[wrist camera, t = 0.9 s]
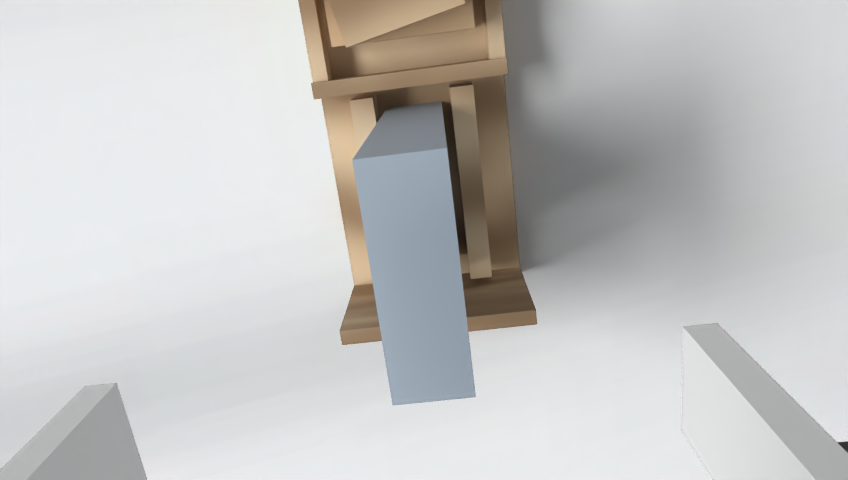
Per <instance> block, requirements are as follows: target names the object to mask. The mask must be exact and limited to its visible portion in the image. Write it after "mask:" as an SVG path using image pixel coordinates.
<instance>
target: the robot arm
mask: <svg viewBox="0 0 848 480" xmlns="http://www.w3.org/2000/svg"><path fill="white" fill-rule="evenodd" d="M681 431H682V433H683V434H684V436H685V437H686V439H687V441H688V442H689V444H690V445H691V447H692V448H693V450H694V452H695V453H696V455H697V456H698V458H699V459H700V461H701V463H702V464H703V466H704V467H705V469H706V471H707V472H708V474H709V475H710V477H711V478H712V480H848V442H836V441H835V440H834V439H833V438H832V437H831V436H830V435H829V434H828V433H827V432H826V431H825V430H824V429H823V428H822V427H821V426H820V425H819V424H818V423H817V422H816V421H815V420H814V419H813V418H812V417H811V416H810V415H809V414H808V413H807V412H806V411H805V410H804V409H803V408H802V407H801V406H800V405H799V404H798V403H797V402H796V401H795V400H794V399H793V398H792V397H791V396H790V395H789V394H788V393H787V392H786V391H785V390H784V389H783V388H782V387H781V386H780V385H779V384H778V383H777V382H776V381H775V380H774V379H773V378H772V377H771V376H770V375H769V374H768V373H767V372H766V371H765V370H764V369H763V368H762V367H761V366H760V365H759V364H758V363H757V362H756V361H755V360H754V359H753V358H752V357H751V356H750V355H749V354H748V353H747V352H746V351H745V350H744V349H743V348H742V347H741V346H740V345H739V344H738V343H737V342H736V341H735V340H734V339H733V338H732V337H731V336H730V335H729V334H728V333H727V332H726V331H725V330H724V329H723V328H722V327H721V326H720V325H719V324H718V323H714V324H704V325H694V326H684V327H683V351H682V426H681ZM0 480H147V477H146V474H145V471H144V468H143V465H142V462H141V458H140V455H139V452H138V449H137V446H136V443H135V439H134V436H133V433H132V430H131V427H130V424H129V421H128V417H127V414H126V411H125V408H124V405H123V402H122V398H121V395H120V392H119V389H118V386H117V383H110V384H100V385H90V386H85V387H84V388H83V389H82V390H81V391H80V392H79V393H78V394H77V395H76V396H75V397H74V398H73V399H72V400H71V401H70V402H68V403H67V404H66V405H65V406H64V407H63V408H62V409H61V410H60V411H59V412H58V413H57V414H56V415H55V416H54V417H53V418H52V419H51V420H50V421H49V422H48V423H47V424H46V425H45V426H44V427H43V428H42V429H41V430H40V431H39V432H38V433H37V434H36V435H35V436H34V437H33V438H32V439H31V440H30V441H29V442H28V443H27V444H26V445H25V446H24V447H23V448H22V449H21V450H20V451H19V452H18V453H17V454H16V455H15V456H14V457H13V458H12V459H11V460H10V461H9V462H8V463H7V464H6V465H5V466H4V467H3V468H2V469H1V470H0Z"/></svg>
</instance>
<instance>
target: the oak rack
mask: <svg viewBox="0 0 848 480" xmlns="http://www.w3.org/2000/svg"><path fill="white" fill-rule="evenodd" d="M298 1H299V7H300V12H301V18H302V24H303V29H304V35H305V40H306V46H307V52H308V57H309V63H310V68H311V74H312V80H313V83H311V85H312V91H313V96H314V99H320V98H321V99H322V105H323V110H324V116H325V122H326V127H327V133H328V139H329V144H330V150H331V156H332V162H333V167H334V173H335V179H336V184H337V190H338V196H339V201H340V207H341V213H342V218H343V224H344V230H345V236H346V241H347V247H348V253H349V258H350V264H351V270H352V275H353V281H354V288H353V291H352V294H351V298H350V301H349V304H348V307H347V310H346V313H345V316H344V319H343V322H342V325H341V329H340V336H341V341H342V345H347V344H357V343H366V342H375V341H382V337H381V331H380V325H379V319H378V313H377V307H376V301H375V295H374V289H373V283H372V277H371V271H370V265H369V259H368V253H367V247H366V240H365V234H364V228H363V222H362V216H361V210H360V204H359V198H358V192H357V186H356V180H355V174H354V168H353V162H352V159H353V158H354V156H355V155H356V153H357V152H358V150H359V149H360V147H361V146H362V144H363V143H364V141H365V140H366V139H367V137H368V136H369V134H370V133H371V131H372V130H373V128H374V127H375V125H376V124H377V122H378V121H379V119H380V118H381V116H382V115H383V113H384V112H385V110H386V109H387V108H391V107H399V106H407V105H415V104H423V103H430V102H438V101H441V102H442V110H443V118H444V127H445V135H446V143H447V152H448V160H449V169H450V178H451V186H452V195H453V204H454V212H455V221H456V230H457V238H458V247H459V256H460V265H461V273H462V282H463V291H464V299H465V308H466V317H467V325H468V332H469V331H479V330H488V329H497V328H507V327H516V326H525V325H535V324H537V318H536V309H535V306H534V304H533V301H532V298H531V296H530V293H529V290H528V288H527V285H526V282H525V280H524V277H523V274H522V272H521V269H520V264H519V252H518V240H517V227H516V215H515V203H514V191H513V179H512V167H511V155H510V142H509V130H508V118H507V106H506V94H505V82H504V75H505V74H508V68H507V58H506V56H505V44H504V32H503V19H502V7H501V0H472V1H473V12H474V22H475V28H473V29H467V30H460V31H452V32H445V33H437V34H430V35H422V36H415V37H407V38H400V39H392V40H385V41H378V42H370V43H363V44H360V45H357V46H354V47H347V48H346V46H340V47H331V41H330V35H329V29H328V23H327V17H326V11H325V5H324V0H298Z"/></svg>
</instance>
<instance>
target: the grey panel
mask: <svg viewBox="0 0 848 480" xmlns="http://www.w3.org/2000/svg"><path fill="white" fill-rule="evenodd" d="M352 162H353V168H354V174H355V180H356V186H357V192H358V198H359V204H360V210H361V216H362V222H363V228H364V234H365V240H366V247H367V253H368V259H369V265H370V271H371V277H372V283H373V289H374V295H375V301H376V307H377V313H378V319H379V325H380V331H381V337H382V343H383V349H384V355H385V361H386V367H387V374H388V380H389V386H390V392H391V398H392V404H393V405H401V404H411V403H421V402H431V401H441V400H451V399H461V398H471V397H476V395H475V386H474V377H473V369H472V360H471V351H470V343H469V334H468V325H467V317H466V308H465V299H464V291H463V282H462V273H461V265H460V256H459V247H458V238H457V230H456V221H455V212H454V204H453V195H452V186H451V178H450V169H449V160H448V152H447V143H446V135H445V127H444V118H443V110H442V102H441V101H438V102H430V103H423V104H415V105H407V106H399V107H391V108H387V109H386V110H385V112H384V113H383V115H382V116H381V118H380V119H379V121H378V122H377V124H376V125H375V127H374V128H373V130H372V131H371V133H370V134H369V136H368V137H367V139H366V140H365V141H364V143H363V144H362V146H361V147H360V149H359V150H358V152H357V153H356V155H355V156H354V158H353V159H352Z"/></svg>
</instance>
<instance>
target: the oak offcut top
mask: <svg viewBox="0 0 848 480" xmlns="http://www.w3.org/2000/svg"><path fill="white" fill-rule="evenodd" d="M329 3H330V6H331V9H332V11H333V14H334V17H335V19H336V22H337V25H338V27H339V30H340V33H341V36H342V38H343V41H344V44H345V46H346V48H347V47H354V46H357V45H360V44H362V43H365V42H368V41H370V40H373V39H376V38H379V37H381V36H384V35H387V34H389V33H392V32H395V31H397V30H400V29H403V28H405V27H408V26H411V25H414V24H416V23H419V22H422V21H424V20H427V19H430V18H432V17H435V16H438V15H440V14H443V13H446V12H449V11H451V10H454V9H457V8H459V7H462V6H463V5H464V4H465V0H329Z"/></svg>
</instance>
